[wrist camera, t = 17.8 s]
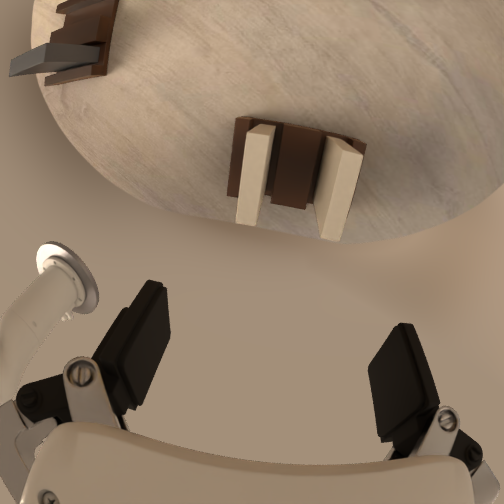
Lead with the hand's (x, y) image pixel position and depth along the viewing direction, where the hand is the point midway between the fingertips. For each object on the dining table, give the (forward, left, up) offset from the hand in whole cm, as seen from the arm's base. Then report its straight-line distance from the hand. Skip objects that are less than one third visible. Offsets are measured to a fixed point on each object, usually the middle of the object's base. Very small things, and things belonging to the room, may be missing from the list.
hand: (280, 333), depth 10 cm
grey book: (+15, +31, -24) cm, 42 cm away
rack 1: (+18, +31, -25) cm, 44 cm away
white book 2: (+1, -4, -24) cm, 24 cm away
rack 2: (+1, -1, -25) cm, 25 cm away
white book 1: (+1, +3, -24) cm, 24 cm away
